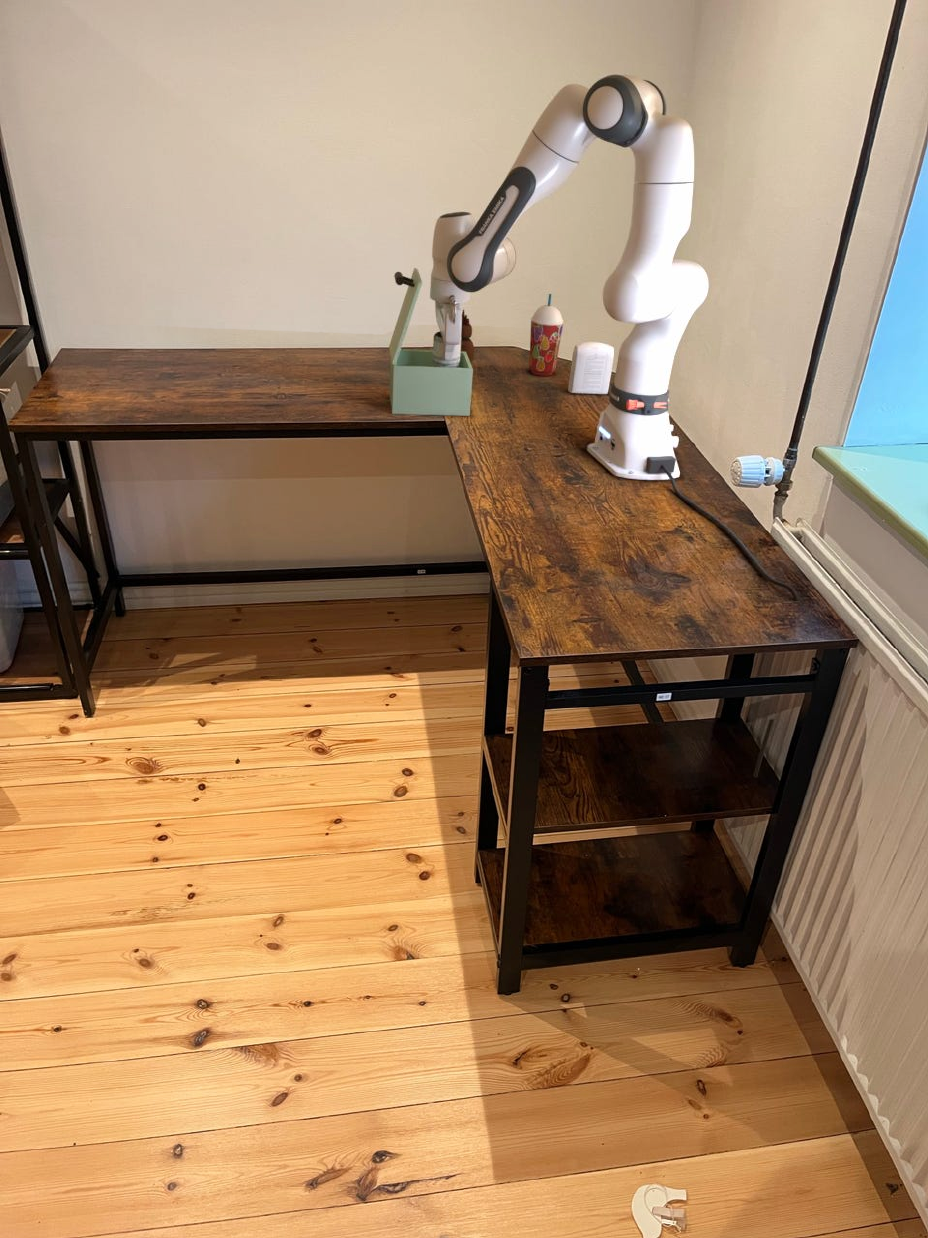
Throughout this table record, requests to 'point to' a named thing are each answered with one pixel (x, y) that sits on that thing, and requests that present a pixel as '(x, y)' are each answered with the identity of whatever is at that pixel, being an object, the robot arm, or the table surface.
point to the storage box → (429, 385)
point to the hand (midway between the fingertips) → (446, 353)
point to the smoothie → (545, 339)
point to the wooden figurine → (467, 338)
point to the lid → (404, 311)
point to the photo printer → (591, 368)
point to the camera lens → (439, 353)
